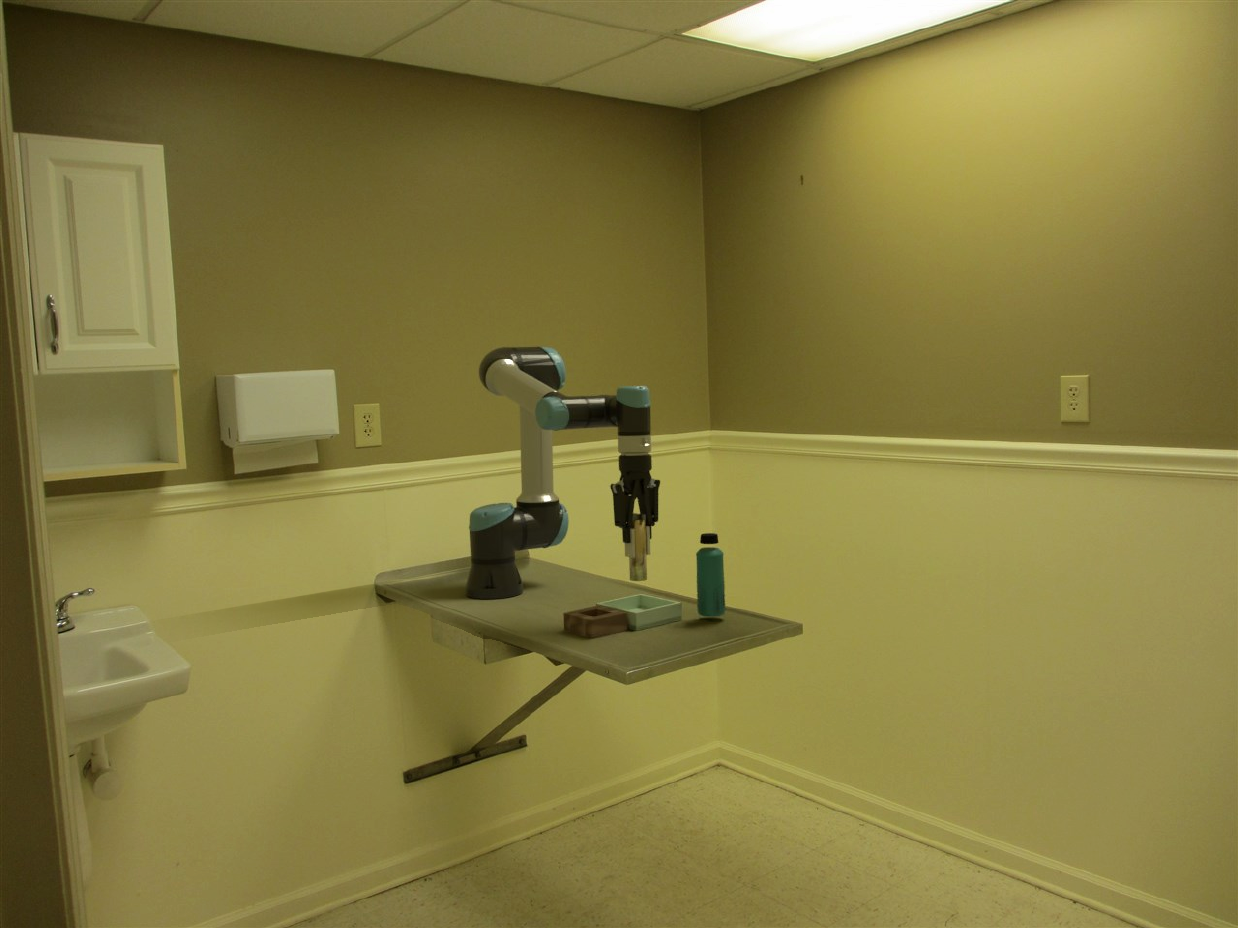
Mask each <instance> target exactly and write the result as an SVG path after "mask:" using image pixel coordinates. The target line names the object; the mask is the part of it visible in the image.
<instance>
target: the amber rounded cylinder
mask: <svg viewBox="0 0 1238 928" xmlns="http://www.w3.org/2000/svg"><path fill="white" fill-rule="evenodd" d="M645 520H646V514H640V513H636V512H633V520H632V527H631V529H635V557H634V558H632V557H628V563H629V566H628V567H629V580H630V581H631V582H642V581H647V580H648V567H647V566H648V564H647V559H648V557H647V555H646V522H645Z"/></svg>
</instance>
